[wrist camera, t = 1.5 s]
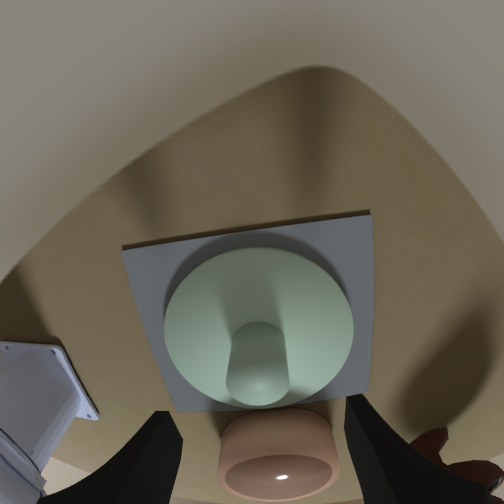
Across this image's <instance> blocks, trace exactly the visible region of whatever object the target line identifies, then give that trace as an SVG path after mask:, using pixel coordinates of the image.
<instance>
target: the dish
mask: <svg viewBox="0 0 504 504" xmlns="http://www.w3.org/2000/svg"><path fill="white" fill-rule="evenodd" d="M340 472H341V471H340V464H339V459H338V454H337V450H336V445H335V441H334V436H333V432H332V428H331V426H330V424H329V422H328V421H327V420H326V419H325V418H323V417H322V416H320V415H318V414H317V413H314V412H312V411H308V410H305V409H300V408H292V407H275V408H265V409H260V410H255V411H252V412H249V413H246V414H244V415H242V416H240V417H238V418H236V419H235V420H233V421H232V422H231V423H229V424H228V425H227V427H226V428H225V429H224V432H223V435H222V441H221V448H220V455H219V463H218V470H217V480H218V483H219V484H220V485H221V486H222V487H223V488H224V489H225V490H226V491H228V492H230V493H232V494H234V495H236V496H239V497H242V498H245V499H250V500H255V501H264V502H281V501H291V500H296V499H301V498H305V497H308V496H311V495H314V494H316V493H319V492H321V491H323V490H324V489H326V488H328V487H329V486H330V485H332V484H333V483H334V482H335V481H336V480H337V479H338V477H339V475H340Z"/></svg>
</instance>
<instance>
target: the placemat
mask: <svg viewBox="0 0 504 504" xmlns="http://www.w3.org/2000/svg"><path fill="white" fill-rule="evenodd" d="M252 246H266V247H275V248H281V249H286V250H289V251H292V252H295V253H298V254H300V255H302V256H304V257H306V258H309V259H310V260H312V261H313V262H315V263H317V264H318V265H320V266H321V267H322V268H323V269H324V270H325V271H327V272H328V273H329V274H330V275H331V277H332V278H333V279H334V280H335V281H336V282H337V284H338V286H339V287H340V289H341V290H342V292H343V294H344V295H345V297H346V299H347V301H348V304H349V306H350V309H351V313H352V317H353V326H354V332H353V341H352V345H351V349H350V352H349V354H348V357H347V359H346V361H345V363H344V365H343V366H342V368H341V369H340V371H339V372H338V373H337V375H336V376H335V377H334V378H333V379H332V380H331V381H330V382H329V383H328V384H327V385H326V386H324V387H323V388H322V389H320V390H319V391H318V392H316V393H314V394H313V395H311V396H309V397H307V398H305V399H303V400H301V401H298V402H295V403H293V404H289V405H285V406H291V405H298V404H305V403H312V402H318V401H324V400H330V399H335V398H341V397H346V396H350V395H355V394H360V393H364V392H368V383H369V374H370V363H371V350H372V334H373V312H374V249H373V226H372V215H371V214H368V215H360V216H352V217H344V218H336V219H328V220H320V221H313V222H305V223H298V224H290V225H283V226H276V227H268V228H261V229H254V230H247V231H241V232H234V233H227V234H220V235H214V236H207V237H200V238H194V239H188V240H181V241H175V242H169V243H162V244H156V245H150V246H144V247H138V248H132V249H126V250H122V251H121V254H122V258H123V261H124V265H125V269H126V272H127V276H128V279H129V283H130V286H131V290H132V293H133V296H134V300H135V303H136V306H137V309H138V312H139V315H140V318H141V321H142V324H143V327H144V330H145V333H146V336H147V338H148V341H149V344H150V347H151V349H152V352H153V355H154V357H155V360H156V363H157V365H158V368H159V370H160V373H161V375H162V378H163V380H164V382H165V385H166V387H167V389H168V392H169V394H170V396H171V399H172V401H173V403H174V405H175V408H176V410H177V412H215V411H237V410H252V409H254V408H243V407H237V406H233V405H229V404H226V403H223V402H220V401H217V400H215V399H213V398H211V397H209V396H207V395H205V394H204V393H202V392H201V391H199V390H198V389H196V388H195V387H194V386H192V385H191V384H190V383H189V382H188V381H187V380H186V379H185V378H184V377H183V376H182V375H181V373H180V372H179V371H178V370H177V368H176V366H175V365H174V363H173V361H172V360H171V357H170V355H169V353H168V350H167V346H166V343H165V336H164V320H165V315H166V310H167V307H168V305H169V302H170V300H171V298H172V296H173V294H174V293H175V291H176V289H177V288H178V286H179V285H180V283H181V282H182V281H183V280H184V278H185V277H186V276H187V275H188V274H189V273H190V272H191V271H192V270H193V269H194V268H195V267H197V266H198V265H200V264H201V263H202V262H204V261H205V260H207V259H209V258H211V257H213V256H215V255H217V254H220V253H223V252H226V251H228V250H232V249H237V248H242V247H252ZM281 407H283V406H281Z"/></svg>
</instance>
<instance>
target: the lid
mask: <svg viewBox="0 0 504 504" xmlns="http://www.w3.org/2000/svg"><path fill="white" fill-rule="evenodd" d="M353 332H354V326H353V317H352V313H351V309H350V306H349V304H348V301H347V299H346V297H345V295H344V294H343V292H342V290H341V289H340V287H339V286H338V284H337V282H336V281H335V280H334V279H333V278H332V277H331V275H330V274H329V273H328V272H327V271H325V270H324V269H323V268H322V267H321V266H320V265H318V264H317V263H315V262H313V261H312V260H310V259H309V258H306V257H304V256H302V255H300V254H298V253H295V252H292V251H289V250H286V249H281V248H275V247H266V246H252V247H242V248H237V249H232V250H228V251H226V252H223V253H220V254H217V255H215V256H213V257H211V258H209V259H207V260H205V261H204V262H202V263H201V264H200V265H198V266H197V267H195V268H194V269H193V270H192V271H191V272H190V273H189V274H188V275H187V276H186V277H185V278H184V280H183V281H182V282H181V283H180V285H179V286H178V288H177V289H176V291H175V293H174V294H173V296H172V298H171V300H170V302H169V305H168V307H167V310H166V315H165V320H164V336H165V343H166V346H167V350H168V353H169V355H170V357H171V360H172V361H173V363H174V365H175V366H176V368H177V370H178V371H179V372H180V373H181V375H182V376H183V377H184V378H185V379H186V380H187V381H188V382H189V383H190V384H191V385H192V386H194V387H195V388H196V389H198V390H199V391H201V392H202V393H204V394H205V395H207V396H209V397H211V398H213V399H215V400H217V401H220V402H223V403H226V404H229V405H233V406H237V407H243V408H254V409H264V408H275V407H281V406H285V405H289V404H293V403H295V402H298V401H301V400H303V399H305V398H307V397H309V396H311V395H313V394H314V393H316V392H318V391H319V390H320V389H322V388H323V387H324V386H326V385H327V384H328V383H329V382H330V381H331V380H332V379H333V378H334V377H335V376H336V375H337V373H338V372H339V371H340V369H341V368H342V366H343V365H344V363H345V361H346V359H347V357H348V354H349V352H350V349H351V345H352V341H353Z"/></svg>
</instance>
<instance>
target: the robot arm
mask: <svg viewBox="0 0 504 504" xmlns="http://www.w3.org/2000/svg"><path fill="white" fill-rule="evenodd" d="M0 349H1V351H2V353H1V354H0V504H169V501H170V497H171V494H172V490H173V486H174V483H175V479H176V475H177V472H178V468H179V464H180V460H181V454H182V445H183V438H182V437H181V435H180V433H179V431H178V429H177V427H176V425H175V423H174V421H173V419H172V417H171V415H170V413H169V411H155V412H154V413H153V414H152V416H151V417H150V418H149V419H148V420H147V421H146V422H145V424H144V425H143V426H142V427H141V428H140V429H139V430H138V432H137V433H136V434H135V435H134V436H133V437H132V438H131V439H130V440H129V441H128V442H127V443H126V445H125V446H124V447H123V448H122V449H121V450H120V451H118V452H117V453H116V454H115V455H114V456H113V457H112V458H111V459H110V460H109V461H108V462H106V463H105V464H104V465H103V466H101V467H100V468H99V469H98V470H96V471H95V472H93V473H92V474H91V475H89V476H87V477H86V478H84V479H82V480H81V481H79V482H77V483H76V484H74V485H72V486H70V487H68V488H66V489H63V490H61V491H59V492H56V493H53V494H51V495H48V496H47V494H46V492H45V491H44V489H43V487H44V485H45V483H46V482H47V481H46V480H45V479H44V478H43V477H42V476H41V475H40V474H41V472H42V470H43V469H44V467H45V465H46V463H47V462H48V460H49V458H50V457H51V455H52V453H53V452H54V450H55V448H56V447H57V445H58V443H59V442H60V440H61V438H62V437H63V435H64V434H65V432H66V430H67V429H68V427H69V426H70V424H71V422H72V421H73V419H74V418H75V417H80V418H85V419H91V420H98V419H99V417H100V416H99V414H98V413H97V411H96V409H95V408H94V406H93V404H92V403H91V401H90V399H89V398H88V396H87V394H86V392H85V391H84V389H83V387H82V385H81V383H80V382H79V380H78V378H77V376H76V374H75V372H74V370H73V368H72V366H71V364H70V362H69V360H68V358H67V356H66V354H65V352H64V350H63V348H62V347H61V346H59V345H48V344H32V343H19V342H8V341H0ZM344 430H345V435H346V440H347V445H348V449H349V452H350V456H351V459H352V462H353V465H354V468H355V471H356V474H357V477H358V480H359V483H360V487H361V490H362V494H363V498H364V504H493V503H494V500H493V498H492V495H491V493H490V492H489V490H488V489H487V487H486V486H485V485H483V484H480V483H477V482H474V481H471V480H468V479H466V478H463V477H461V476H459V475H456V474H454V473H452V472H450V471H448V470H447V469H445V468H443V467H441V466H439V465H437V464H436V463H434V462H432V461H431V460H429V459H428V458H426V457H425V456H423V455H422V454H421V453H419V452H418V451H417V450H415V449H414V448H413V447H412V446H410V445H409V444H408V443H407V442H406V441H405V440H404V439H402V438H401V437H400V436H399V435H398V434H397V433H396V432H395V431H394V430H393V429H392V428H391V427H390V426H389V425H388V424H387V423H386V422H385V421H384V420H383V418H382V417H381V416H380V415H379V414H378V413H377V412H376V410H375V409H374V408H373V407H372V406H371V404H370V403H369V402H368V400H367V399H366V398H365V396H364V395H363V394H356V395H352V396H347V397H346V409H345V422H344Z"/></svg>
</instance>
